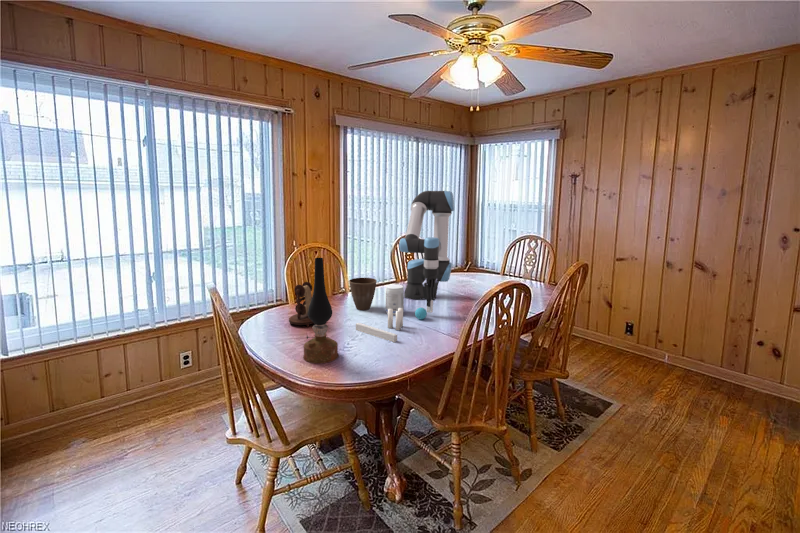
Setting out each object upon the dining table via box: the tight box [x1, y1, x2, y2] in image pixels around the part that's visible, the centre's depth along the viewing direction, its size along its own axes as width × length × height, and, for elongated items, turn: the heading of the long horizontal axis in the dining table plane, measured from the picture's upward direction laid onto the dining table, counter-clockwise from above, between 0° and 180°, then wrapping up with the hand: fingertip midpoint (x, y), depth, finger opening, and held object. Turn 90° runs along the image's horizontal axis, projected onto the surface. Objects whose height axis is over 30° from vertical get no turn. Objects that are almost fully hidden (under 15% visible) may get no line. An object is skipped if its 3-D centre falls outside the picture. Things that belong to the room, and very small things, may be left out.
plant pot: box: [348, 277, 377, 311], centre depth 229 cm, size 15×15×16 cm
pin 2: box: [395, 311, 402, 331], centre depth 196 cm, size 2×2×9 cm
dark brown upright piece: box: [288, 281, 314, 328], centre depth 203 cm, size 15×15×20 cm
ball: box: [414, 307, 428, 320], centre depth 213 cm, size 6×6×6 cm
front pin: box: [398, 308, 404, 328], centre depth 200 cm, size 2×2×9 cm
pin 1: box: [387, 309, 394, 329], centre depth 199 cm, size 2×2×9 cm
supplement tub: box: [385, 284, 405, 316], centre depth 222 cm, size 10×10×15 cm
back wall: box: [355, 322, 398, 343], centre depth 188 cm, size 2×24×3 cm, turn 49°
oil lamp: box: [302, 257, 339, 364], centre depth 163 cm, size 14×15×40 cm
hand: (429, 312), depth 218 cm, fingers closed
